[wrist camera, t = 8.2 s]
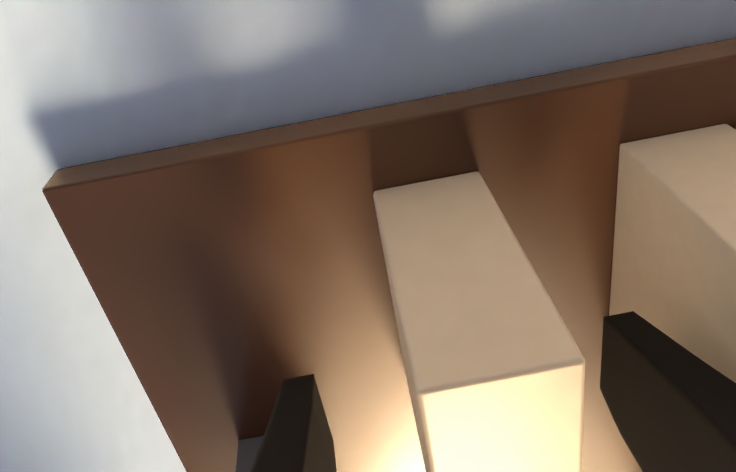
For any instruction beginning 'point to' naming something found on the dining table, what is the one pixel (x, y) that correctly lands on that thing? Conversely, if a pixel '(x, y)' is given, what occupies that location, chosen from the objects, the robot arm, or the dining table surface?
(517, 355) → the tan wooden block
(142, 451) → the dining table surface
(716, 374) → the robot arm
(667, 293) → the cream block
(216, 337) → the shelf board
